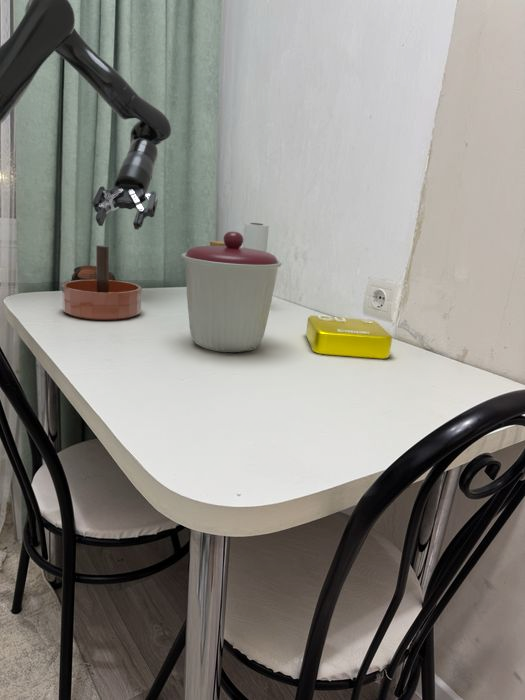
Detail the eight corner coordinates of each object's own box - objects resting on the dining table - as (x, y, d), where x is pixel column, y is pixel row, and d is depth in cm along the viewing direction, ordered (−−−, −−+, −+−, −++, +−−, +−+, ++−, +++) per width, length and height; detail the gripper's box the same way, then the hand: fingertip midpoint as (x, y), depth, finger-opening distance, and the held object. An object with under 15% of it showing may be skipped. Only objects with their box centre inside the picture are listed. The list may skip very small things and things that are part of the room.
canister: (280, 339, 103) (290, 234, 97) (264, 365, 86) (276, 239, 80) (194, 328, 106) (199, 225, 100) (163, 351, 88) (167, 228, 83)
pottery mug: (63, 297, 126) (63, 266, 128) (83, 307, 136) (82, 278, 137) (108, 289, 125) (107, 258, 126) (125, 300, 134) (123, 271, 136)
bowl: (48, 316, 105) (47, 287, 103) (83, 302, 121) (83, 277, 119) (125, 324, 104) (125, 295, 102) (150, 309, 120) (150, 284, 118)
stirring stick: (87, 310, 110) (87, 245, 106) (96, 306, 115) (96, 244, 111) (108, 313, 110) (109, 248, 106) (117, 309, 114) (117, 246, 110)
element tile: (313, 354, 95) (316, 329, 94) (304, 334, 109) (307, 312, 108) (391, 360, 96) (395, 335, 94) (373, 339, 110) (376, 318, 109)
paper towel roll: (248, 310, 129) (255, 224, 123) (233, 305, 133) (239, 221, 127) (269, 308, 133) (277, 225, 127) (254, 303, 138) (261, 223, 132)
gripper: (102, 160, 120) (82, 210, 112) (161, 165, 119) (144, 216, 111) (111, 184, 127) (92, 233, 119) (166, 189, 126) (151, 239, 118)
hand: (117, 225), depth 115 cm, fingers open, 8 cm apart
